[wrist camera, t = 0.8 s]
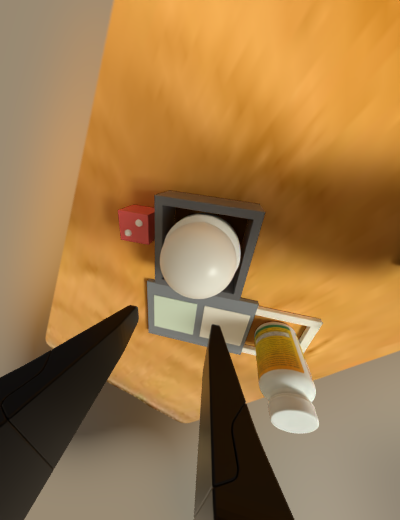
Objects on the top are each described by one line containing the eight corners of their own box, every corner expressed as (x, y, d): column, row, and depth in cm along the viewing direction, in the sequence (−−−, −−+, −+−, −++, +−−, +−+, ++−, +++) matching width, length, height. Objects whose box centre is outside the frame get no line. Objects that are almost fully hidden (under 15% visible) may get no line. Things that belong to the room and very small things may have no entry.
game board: (323, 315, 21) (326, 319, 20) (292, 363, 26) (294, 368, 25) (149, 278, 23) (146, 281, 23) (150, 329, 28) (148, 333, 27)
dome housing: (259, 203, 17) (265, 212, 13) (238, 280, 21) (239, 301, 18) (132, 184, 18) (109, 188, 15) (137, 260, 22) (120, 276, 19)
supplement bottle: (304, 336, 23) (343, 431, 15) (271, 352, 26) (289, 441, 17) (276, 313, 22) (300, 400, 14) (245, 332, 25) (250, 415, 16)
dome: (247, 217, 16) (254, 244, 10) (231, 281, 19) (230, 328, 13) (172, 205, 16) (139, 223, 11) (170, 268, 20) (143, 308, 14)
